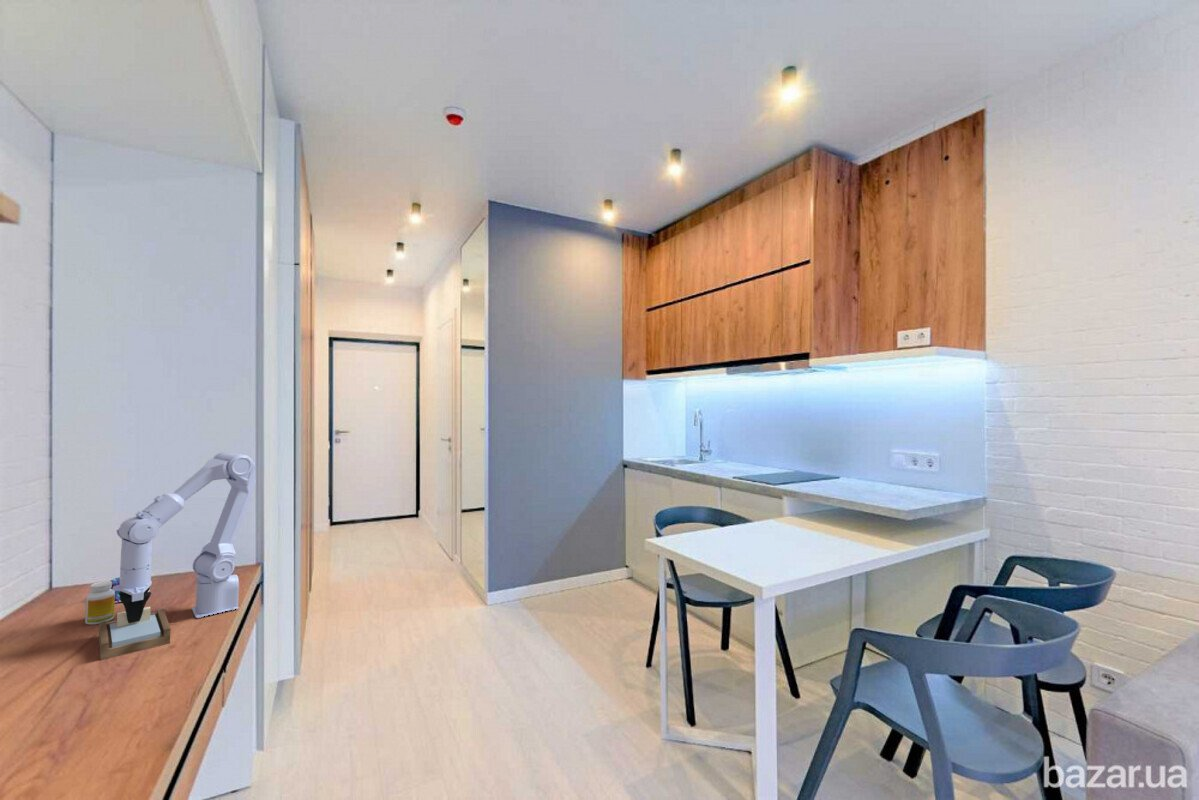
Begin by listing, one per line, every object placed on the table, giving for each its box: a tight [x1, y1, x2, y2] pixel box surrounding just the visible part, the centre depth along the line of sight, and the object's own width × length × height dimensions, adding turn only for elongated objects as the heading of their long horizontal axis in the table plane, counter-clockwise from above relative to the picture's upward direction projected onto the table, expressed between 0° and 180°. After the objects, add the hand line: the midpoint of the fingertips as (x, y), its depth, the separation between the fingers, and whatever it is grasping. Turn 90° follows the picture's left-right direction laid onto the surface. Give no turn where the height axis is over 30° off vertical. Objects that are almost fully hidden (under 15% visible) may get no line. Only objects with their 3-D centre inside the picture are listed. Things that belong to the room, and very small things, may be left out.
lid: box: [109, 606, 161, 648], centre depth 123 cm, size 8×12×4 cm
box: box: [98, 608, 172, 661], centre depth 123 cm, size 12×14×4 cm
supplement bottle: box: [84, 580, 116, 626], centre depth 131 cm, size 5×5×10 cm
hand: (133, 620), depth 125 cm, fingers closed on lid, 2 cm apart
